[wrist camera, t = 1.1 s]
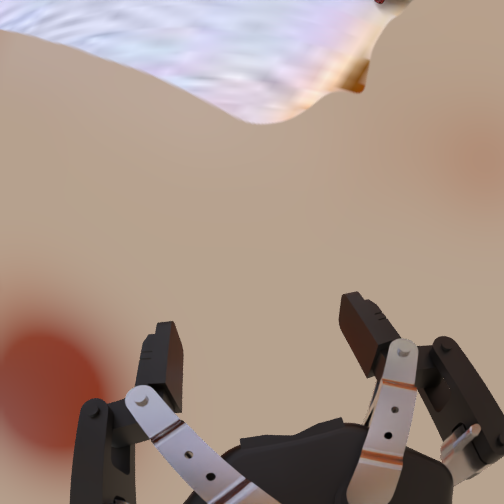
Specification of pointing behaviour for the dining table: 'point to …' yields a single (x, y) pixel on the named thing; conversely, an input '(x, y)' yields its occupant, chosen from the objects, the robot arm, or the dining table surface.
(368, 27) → the dining table surface
